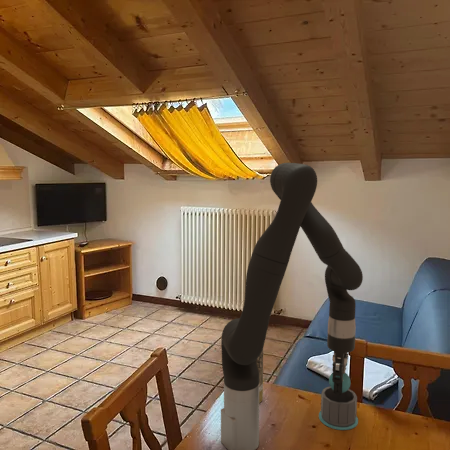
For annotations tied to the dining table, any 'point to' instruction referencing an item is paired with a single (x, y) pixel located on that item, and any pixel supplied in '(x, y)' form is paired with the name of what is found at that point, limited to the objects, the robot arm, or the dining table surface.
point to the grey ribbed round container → (338, 409)
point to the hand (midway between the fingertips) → (339, 387)
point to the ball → (345, 383)
